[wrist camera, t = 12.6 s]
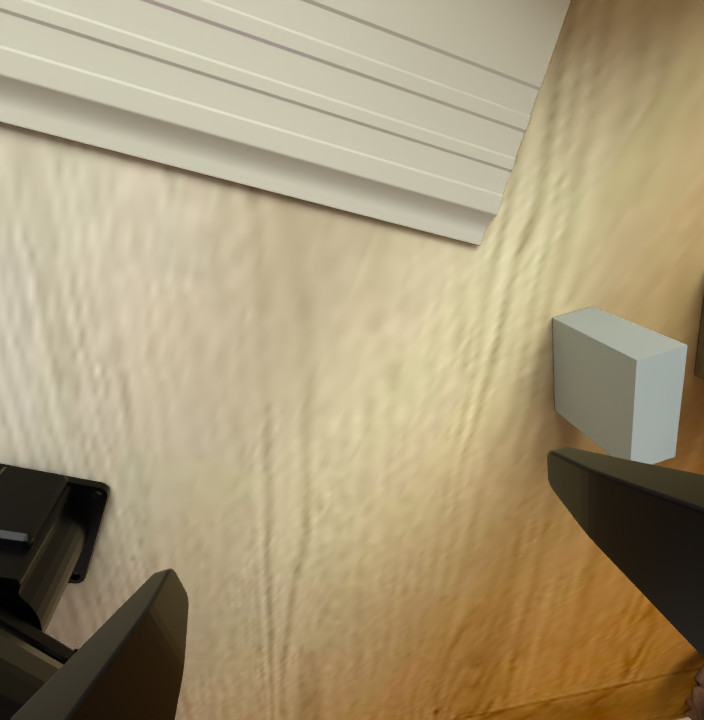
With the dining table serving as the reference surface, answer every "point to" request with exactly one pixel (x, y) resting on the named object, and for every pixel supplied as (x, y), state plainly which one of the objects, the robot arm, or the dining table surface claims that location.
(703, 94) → the dining table surface
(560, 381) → the light gray rectangular block
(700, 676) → the dark curved fragment
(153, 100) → the baseboard molding
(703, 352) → the grey stepped block
